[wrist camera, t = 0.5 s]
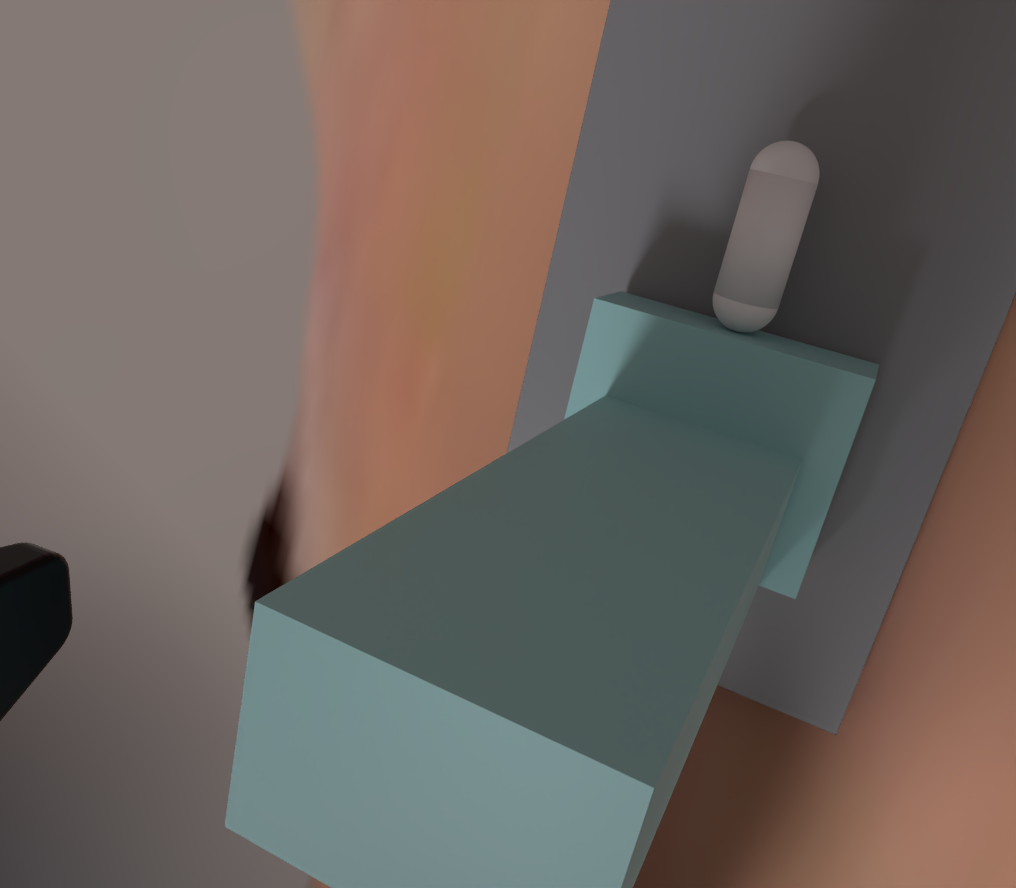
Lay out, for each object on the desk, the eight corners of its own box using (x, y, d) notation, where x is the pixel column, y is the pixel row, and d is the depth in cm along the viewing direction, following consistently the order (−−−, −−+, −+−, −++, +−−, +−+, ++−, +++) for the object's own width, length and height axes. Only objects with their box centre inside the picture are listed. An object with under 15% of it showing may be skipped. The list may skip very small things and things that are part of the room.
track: (840, 705, 23) (791, 1030, 14) (498, 565, 27) (274, 755, 17) (1275, -375, 16) (1794, -1218, 6) (724, -388, 19) (542, -964, 10)
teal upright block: (805, 566, 21) (649, 1071, 9) (571, 481, 23) (170, 796, 11) (947, 176, 18) (1021, 95, 6) (665, 116, 20) (263, -42, 8)
